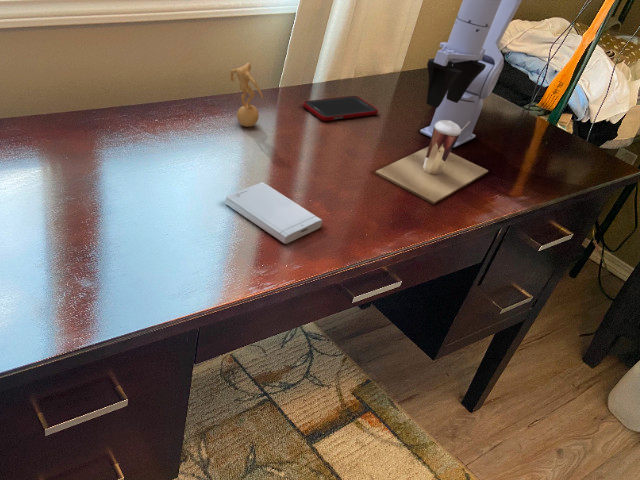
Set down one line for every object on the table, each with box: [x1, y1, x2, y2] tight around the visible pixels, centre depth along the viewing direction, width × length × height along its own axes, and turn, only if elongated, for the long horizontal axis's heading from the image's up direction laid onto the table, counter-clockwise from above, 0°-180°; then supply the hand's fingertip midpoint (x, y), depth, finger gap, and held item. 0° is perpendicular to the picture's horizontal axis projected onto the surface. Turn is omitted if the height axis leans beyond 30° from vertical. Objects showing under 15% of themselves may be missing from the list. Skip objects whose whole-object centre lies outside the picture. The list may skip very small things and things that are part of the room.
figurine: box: [230, 62, 264, 128], centre depth 110 cm, size 8×6×12 cm
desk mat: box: [374, 146, 489, 205], centre depth 110 cm, size 20×12×1 cm, turn 136°
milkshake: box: [423, 120, 470, 175], centre depth 106 cm, size 4×5×10 cm
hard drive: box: [224, 181, 323, 245], centre depth 91 cm, size 2×8×12 cm
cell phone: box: [302, 95, 379, 122], centre depth 125 cm, size 8×15×1 cm, turn 121°
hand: (442, 103), depth 108 cm, fingers open, 7 cm apart
